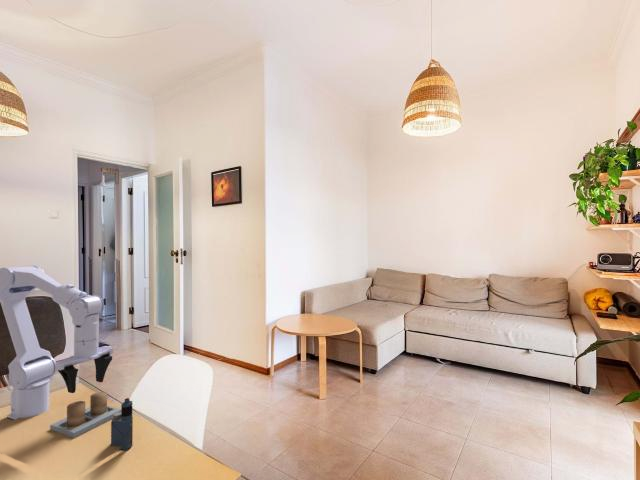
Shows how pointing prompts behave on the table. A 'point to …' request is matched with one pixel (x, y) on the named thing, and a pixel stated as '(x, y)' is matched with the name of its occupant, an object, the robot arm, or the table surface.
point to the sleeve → (75, 414)
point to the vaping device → (122, 427)
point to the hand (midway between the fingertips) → (86, 386)
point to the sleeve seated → (98, 404)
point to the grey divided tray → (85, 427)
